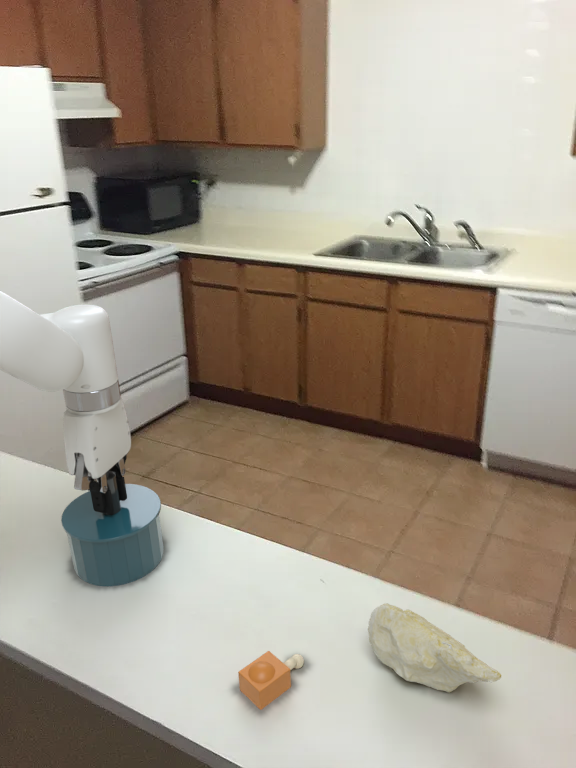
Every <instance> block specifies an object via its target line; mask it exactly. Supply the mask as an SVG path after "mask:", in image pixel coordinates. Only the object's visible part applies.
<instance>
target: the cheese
mask: <svg viewBox="0 0 576 768" xmlns="http://www.w3.org/2000/svg"><path fill="white" fill-rule="evenodd" d="M367 631H368V641H369V644H370V645H371V649H372V651H373V652H374V654H375V655H376V657H377V659H378V660H379V661H380V662H381V663H382V664H383V665H384V666H385V665H386V666H387V667H389V668H390V669H393V671H394V672H395V674H397V675H398V676H399V677H400V678H402V679H403V680H405V681H406V682H409V683H410V682H411V683H418V684H421V685H423V686H426V687H428V688H432V689H434V690H436V691H442V692H446V693H451V692H453V691H455V690H457V689H458V687H460V686H461V685H464V684H466V683H471V684H473V683H477V682H479V681H480V682H483V683H489V684H492V683H495V682H497V681H499V680H500V679H501V678H502V674H501V673H500V671H498V670H497V669H495V668H493V667H492V666H489V665H488V664H487V663H486V662H484V661H483V660H481V659H479V658H478V657H477V656H476V655H474V654H473V653H472V652H471V651H470V650H468V649H467V648H466V646H465V645H464V644H463V643H461V642H459V640H457V639H455V638H454V637H453V636H451V635H450V634H449V633H448V632H446V631H444V630H443V629H441V628H439V627H438V626H436V625H434V624H433V623H431V622H430V621H428V620H427V619H426V618H425V617H423V616H422V615H420V614H418V613H417V612H415V611H412V610H410V609H404V610H403V609H402V608H400V607H398V606H396V605H392V604H390V603H386V602H385V603H383V604H381V605H379V606H377V607H375V608H374V609H373V610H372V612H371V613H370V617H369V621H368V626H367Z"/></svg>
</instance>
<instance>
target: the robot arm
mask: <svg viewBox="0 0 576 768" xmlns="http://www.w3.org/2000/svg"><path fill="white" fill-rule="evenodd" d="M111 328H112V327H111V321H110V316H109V313H108V311H106V309H104V308H103V307H102V306H99V305H96V304H90V303H89V304H85V303H83V304H81V303H80V304H75V305H74V304H73V305H70V306H66V307H63V308H60V309H57V311H54V312H49V313H48V312H47V313H38V312H37V311H35V310H33V309H32V308H30V307H28V306H26V305H25V304H24V303H21V302H20V301H19V300H17V299H15V298H14V297H12V296H10V295H9V294H8V293H5V292H4V291H2V290H0V371H2V372H4V373H5V374H7V375H9V376H11V377H13V378H16V379H17V380H20V381H22V382H24V383H26V384H28V385H29V386H31V387H33V388H35V389H37V390H39V391H43V392H48V393H53V392H60V391H62V393H63V399H64V404H65V409H66V410H65V411H64V412H63V417H62V418H63V419H62V420H63V423H62V431H63V432H62V435H63V445H64V454H65V462H66V468H67V471H68V474H69V475H70V476H74V483H73V488H74V489H73V490H77V491H87V492H88V491H90V492H91V498H92V503H93V509H94V511H96V512H101V513H106V514H112V513H113V512H114V507H113V500H112V494H111V490H109V489H107V479H106V472H107V471H113V472H115V473H116V479H117V485H118V491H119V497H120V500H121V501H125V500H126V499H127V493H126V486H125V484H126V480H125V475H126V473H127V470H126V465H125V464H126V461H127V457H128V454H129V452H130V450H131V448H132V436H131V435H132V434H131V429H130V424H129V419H128V415H127V410H126V407H125V403H124V400H123V397H122V395H121V388H120V382H119V376H118V375H119V374H118V367H117V362H116V354H115V348H114V341H113V335H112V329H111ZM97 478H98V481H99V483H98V482H97Z"/></svg>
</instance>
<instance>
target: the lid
mask: <svg viewBox="0 0 576 768" xmlns="http://www.w3.org/2000/svg"><path fill="white" fill-rule="evenodd" d="M106 479H107V489H109V490H111V494H112V500H113V507H114V512H113V513H112V514H106V513H101V512H96V511H94V509H93V503H92V498H91V492H90V491H88V490H87V491H85V492H84V493H83V494H82V493H81V495H79V496H77V497H75V498H74V499H73V500H72V501H71V502H70V503H68V505H66V507H65V508H64V509H63V511H62V515H61V520H60V521H61V526H62V528H63V531H64V532H65V533H66V535H67V534H68V535H70V536H71V537H73V538H75V539H78V540H81V541H86V542H110V541H116V540H120V539H124V538H127V537H130V536H132V535H135V534H137V533H139V532H141V531H142V530H144V529H145V528H147V527H148V526H149V525H151V524H152V523H153V522H154V521H155V519H156V518H157V517H158V515H159V516H160V513H161V510H162V503H161V498H160V496H159V495H158V493H157V492H155V491H154V490H152V489H151V488H149V487H147V486H144V485H140V484H136V483H135V484H134V483H125V486H126V493H127V499H126V500H125V501H121V500H120V497H119V491H118V485H117V479H116V473H115V472H113V471H107V472H106ZM96 482H98V483H99V481H98V478H97V479H96Z"/></svg>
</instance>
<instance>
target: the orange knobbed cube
mask: <svg viewBox="0 0 576 768" xmlns="http://www.w3.org/2000/svg"><path fill="white" fill-rule="evenodd" d="M304 662H305V659H304V657H303V656H302V655H301V654H300V653H295V654H292V656H291V657H289V658H288V659H286V660H285V661H284V662H283V661H281V659H279V658H278V657H277V656H276V655H275V654H273V652H271V651H270V650H267V651H266V652H265V653H263V654H262V655H260V656H259V657H257V658H256V659H255V660H253V661H252V662H250V663H249V664H247V665H246V666H245V667H243V668H241V669H240V670H239V671H238V672H237V674H238V683H239V684H238V685H239V691H240V692H241V693H242V694H243V695H244V696H245V697H246V698H248V700H250V702H251V703H252V704H254V706H255V707H257V708H258V709H259V710H260V711H262V710H263V709H264V708H266V707H267V706H269V705H270V704H271V703H272V702H274V701H276V699H277V698H279V697H280V696H282V695H283V694H284V693H285V692H287V691H288V690H289V689H291V688H292V679H291V677H292V675H291V671H292V670H294V669H295V670H296V669H297V670H299V669H300V668H302V667H303V666H304V664H305V663H304Z"/></svg>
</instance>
